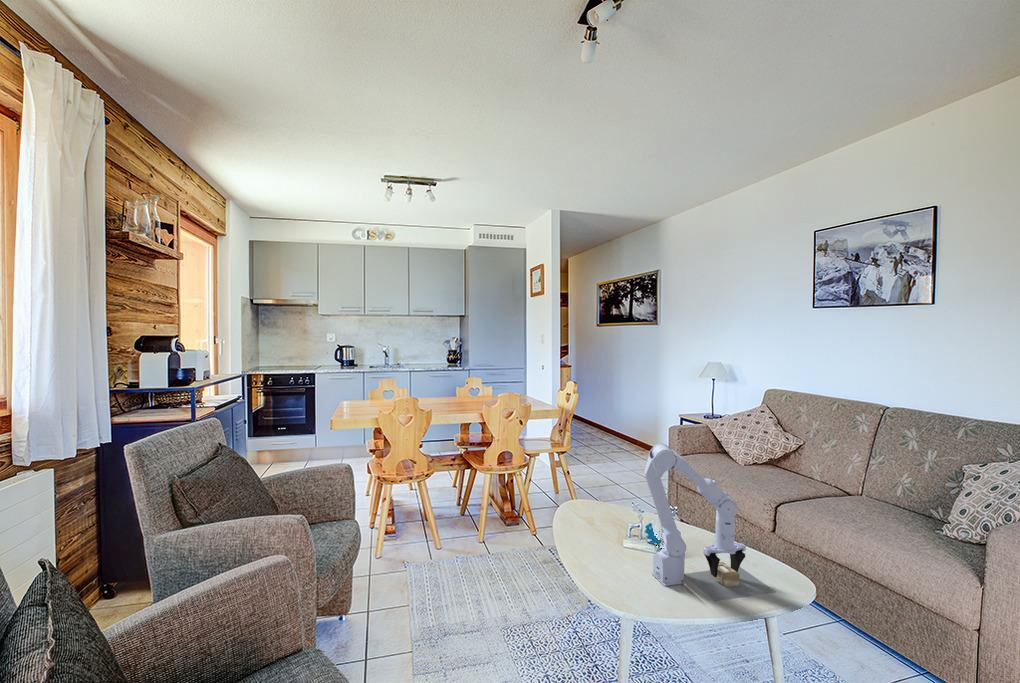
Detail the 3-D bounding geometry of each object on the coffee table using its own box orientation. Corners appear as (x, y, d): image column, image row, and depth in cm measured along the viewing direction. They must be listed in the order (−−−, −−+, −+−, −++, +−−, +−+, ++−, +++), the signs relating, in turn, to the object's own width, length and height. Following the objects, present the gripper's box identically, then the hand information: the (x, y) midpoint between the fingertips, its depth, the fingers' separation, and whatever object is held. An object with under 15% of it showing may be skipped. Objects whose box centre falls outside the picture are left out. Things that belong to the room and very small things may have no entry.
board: (714, 604, 142) (715, 589, 142) (683, 576, 157) (683, 563, 157) (776, 595, 147) (776, 580, 147) (739, 569, 162) (739, 556, 162)
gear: (655, 549, 173) (642, 523, 180) (645, 556, 177) (632, 530, 183) (674, 545, 179) (661, 520, 186) (664, 552, 183) (651, 527, 189)
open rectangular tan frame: (709, 574, 157) (709, 563, 157) (722, 572, 158) (722, 561, 158) (725, 586, 149) (725, 575, 149) (739, 585, 151) (739, 573, 150)
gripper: (713, 540, 148) (712, 583, 148) (752, 536, 151) (751, 577, 152) (699, 531, 155) (698, 571, 155) (737, 527, 158) (736, 567, 159)
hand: (724, 574), depth 154 cm, fingers open, 7 cm apart
